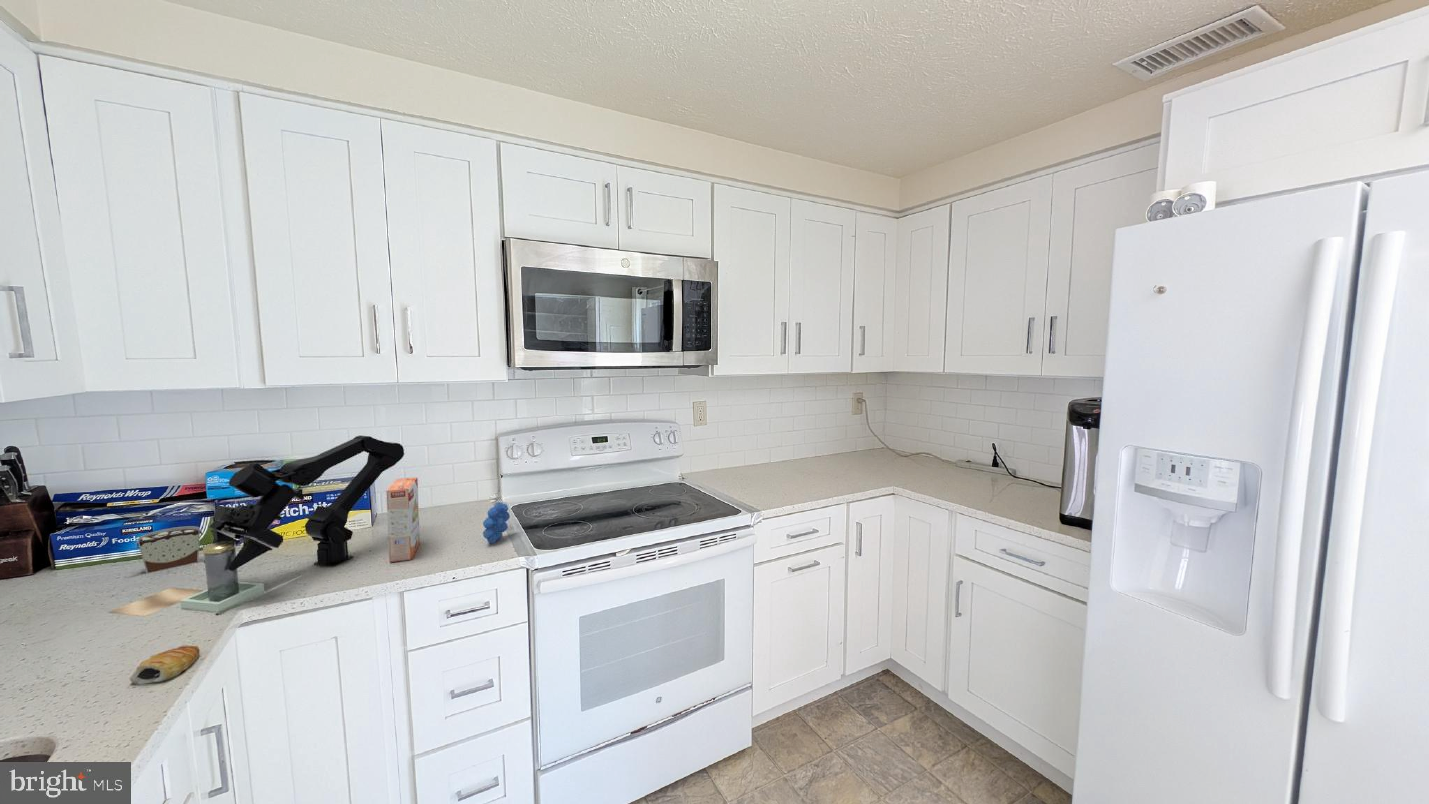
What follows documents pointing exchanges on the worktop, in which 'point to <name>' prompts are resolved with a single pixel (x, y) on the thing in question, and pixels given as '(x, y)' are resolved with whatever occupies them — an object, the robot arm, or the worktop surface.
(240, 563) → the robot arm
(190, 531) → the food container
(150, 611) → the cork mat
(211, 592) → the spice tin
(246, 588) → the dish
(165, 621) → the worktop surface
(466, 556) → the worktop surface
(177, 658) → the pastry
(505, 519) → the grapes
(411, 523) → the cracker box
